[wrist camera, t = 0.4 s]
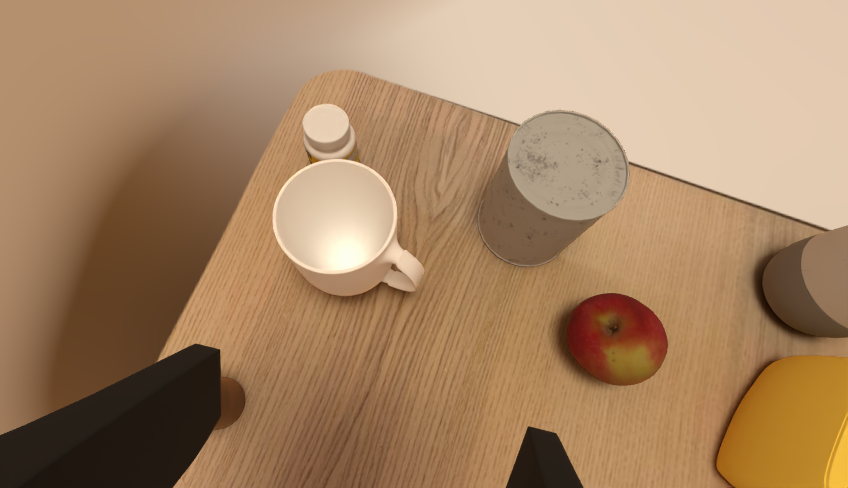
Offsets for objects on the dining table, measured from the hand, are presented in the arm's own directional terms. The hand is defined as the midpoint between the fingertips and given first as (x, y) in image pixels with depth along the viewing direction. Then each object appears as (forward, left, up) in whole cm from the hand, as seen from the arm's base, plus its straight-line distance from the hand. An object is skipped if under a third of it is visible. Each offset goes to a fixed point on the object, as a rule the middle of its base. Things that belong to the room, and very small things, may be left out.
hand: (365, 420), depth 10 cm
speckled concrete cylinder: (+19, -10, -30) cm, 37 cm away
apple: (+8, -18, -30) cm, 36 cm away
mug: (+11, +5, -30) cm, 33 cm away
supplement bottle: (+21, +10, -30) cm, 38 cm away
